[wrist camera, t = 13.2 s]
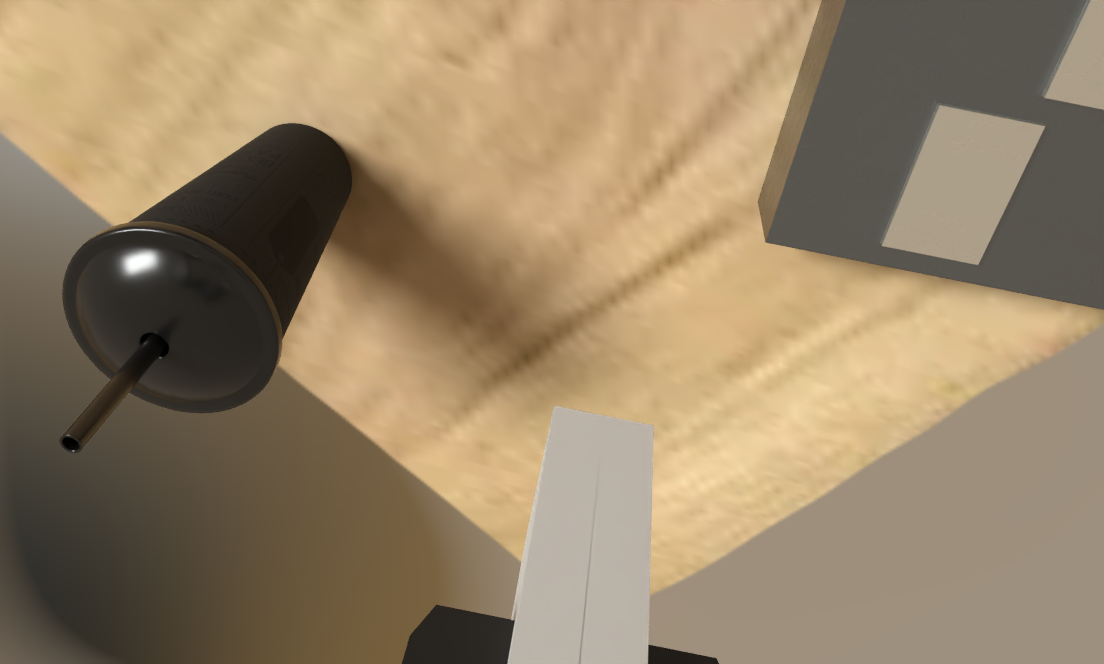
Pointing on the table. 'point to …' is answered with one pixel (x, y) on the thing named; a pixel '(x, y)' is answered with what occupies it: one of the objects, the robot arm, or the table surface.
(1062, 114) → the grey flat block
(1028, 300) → the table surface
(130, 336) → the drinking cup
